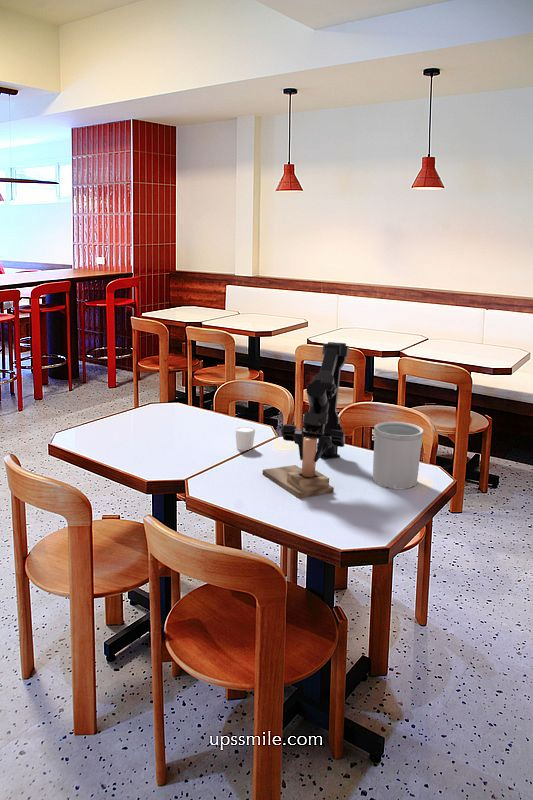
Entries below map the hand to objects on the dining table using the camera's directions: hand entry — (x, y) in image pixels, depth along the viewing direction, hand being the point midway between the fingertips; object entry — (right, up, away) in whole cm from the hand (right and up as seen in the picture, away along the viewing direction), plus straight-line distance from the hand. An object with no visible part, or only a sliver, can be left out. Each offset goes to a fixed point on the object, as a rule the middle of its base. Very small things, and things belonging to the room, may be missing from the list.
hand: (308, 460), depth 199 cm
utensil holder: (+28, -8, +13) cm, 32 cm away
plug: (0, -4, +2) cm, 5 cm away
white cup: (-20, 0, +40) cm, 45 cm away
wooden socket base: (-3, -8, +9) cm, 12 cm away
